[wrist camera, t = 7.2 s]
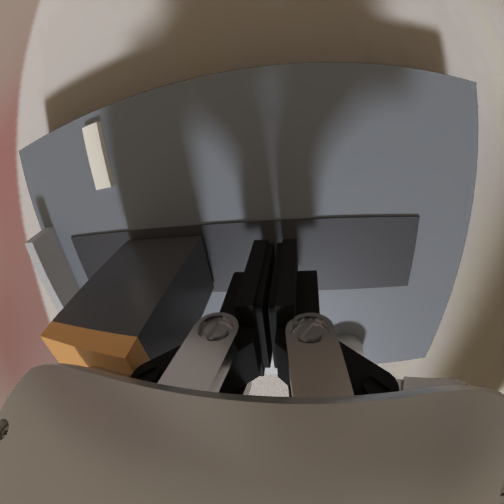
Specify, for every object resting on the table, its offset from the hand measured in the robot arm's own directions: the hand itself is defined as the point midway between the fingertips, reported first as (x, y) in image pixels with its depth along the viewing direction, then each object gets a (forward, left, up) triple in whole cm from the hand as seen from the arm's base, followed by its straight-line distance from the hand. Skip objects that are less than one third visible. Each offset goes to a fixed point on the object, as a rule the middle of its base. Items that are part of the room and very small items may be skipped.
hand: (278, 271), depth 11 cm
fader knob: (+5, 0, -1) cm, 5 cm away
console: (+3, 0, -4) cm, 5 cm away
